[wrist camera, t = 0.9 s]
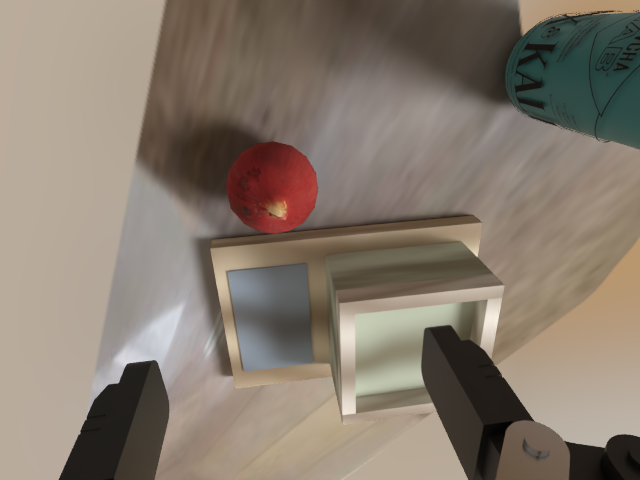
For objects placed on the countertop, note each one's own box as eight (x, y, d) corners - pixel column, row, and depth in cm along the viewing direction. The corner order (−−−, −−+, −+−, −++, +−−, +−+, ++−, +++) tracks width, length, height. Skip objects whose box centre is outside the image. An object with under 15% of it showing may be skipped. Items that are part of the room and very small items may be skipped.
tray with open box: (212, 239, 32) (198, 298, 25) (473, 215, 34) (530, 262, 27) (236, 376, 38) (230, 454, 31) (456, 349, 40) (498, 416, 33)
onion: (240, 214, 31) (235, 267, 24) (221, 139, 29) (208, 173, 22) (316, 200, 32) (332, 248, 25) (304, 124, 29) (318, 153, 22)
